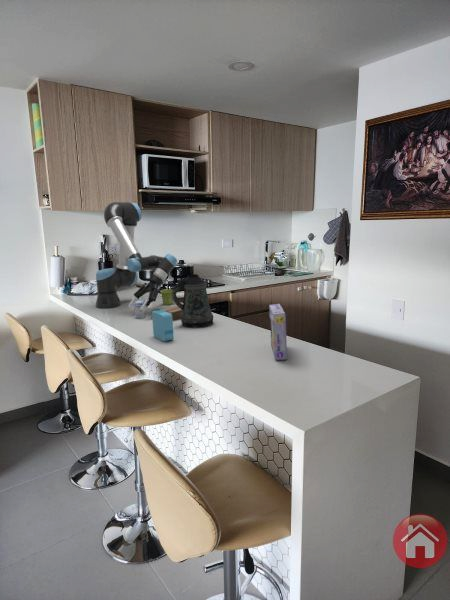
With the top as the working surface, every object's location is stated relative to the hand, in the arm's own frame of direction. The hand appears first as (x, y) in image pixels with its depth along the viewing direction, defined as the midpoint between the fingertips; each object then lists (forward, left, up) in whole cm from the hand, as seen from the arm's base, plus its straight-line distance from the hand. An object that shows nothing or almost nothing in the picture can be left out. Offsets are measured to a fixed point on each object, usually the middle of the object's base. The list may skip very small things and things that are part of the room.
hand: (136, 308), depth 214 cm
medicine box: (0, +3, -5) cm, 6 cm away
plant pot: (-17, +33, -5) cm, 37 cm away
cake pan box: (+94, +8, -5) cm, 94 cm away
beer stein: (+36, +13, -5) cm, 38 cm away
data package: (+44, -12, -5) cm, 46 cm away
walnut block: (+15, +15, -5) cm, 22 cm away
